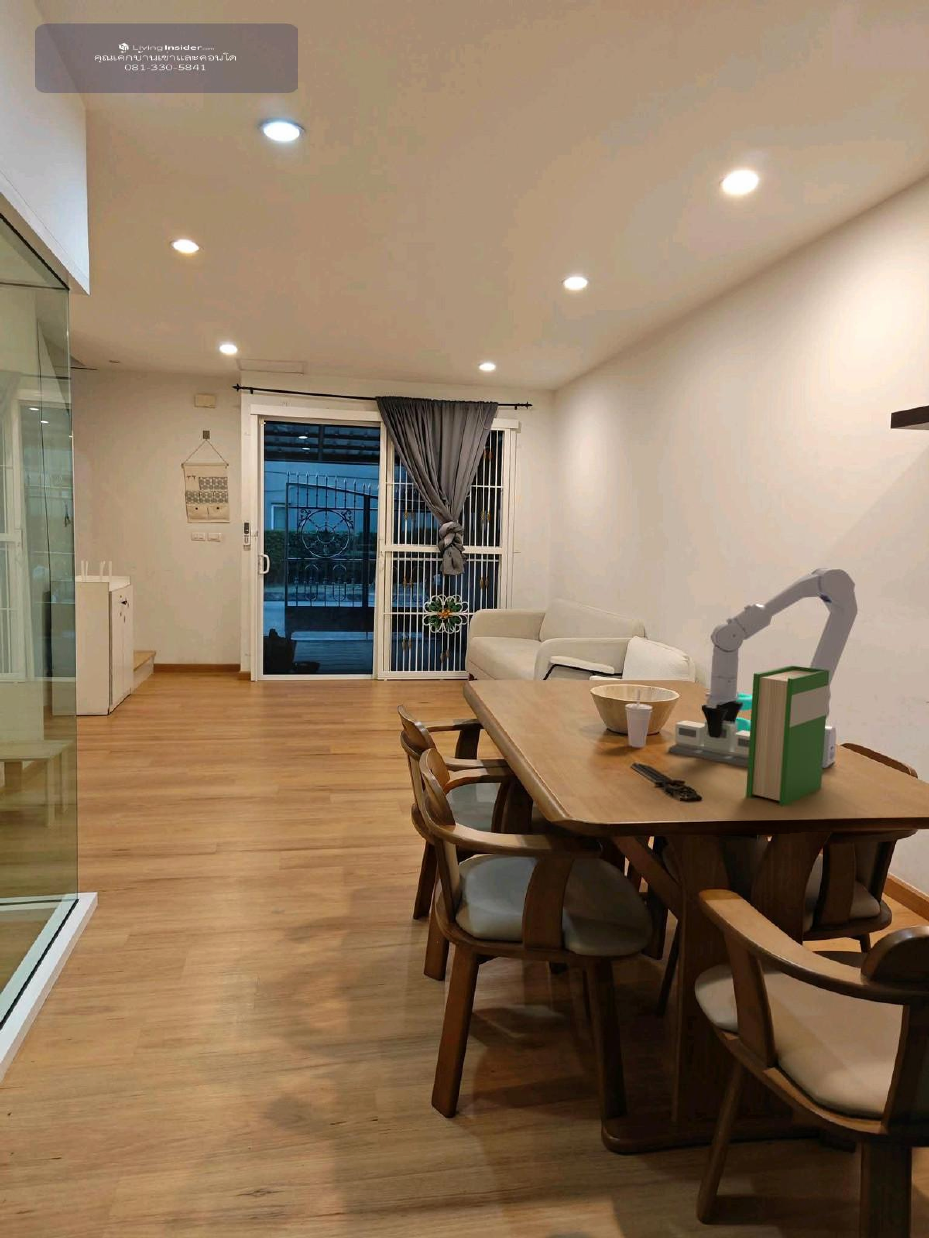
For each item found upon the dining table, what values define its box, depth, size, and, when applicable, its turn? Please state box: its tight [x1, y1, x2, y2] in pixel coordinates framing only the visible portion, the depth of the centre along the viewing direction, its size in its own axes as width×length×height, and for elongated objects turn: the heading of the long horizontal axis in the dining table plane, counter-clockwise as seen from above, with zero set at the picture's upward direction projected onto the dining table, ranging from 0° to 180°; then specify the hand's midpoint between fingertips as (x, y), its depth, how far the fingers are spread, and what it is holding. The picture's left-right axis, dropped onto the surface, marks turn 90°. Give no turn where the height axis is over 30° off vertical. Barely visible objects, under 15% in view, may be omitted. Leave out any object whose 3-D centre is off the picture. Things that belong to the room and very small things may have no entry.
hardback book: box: [745, 665, 829, 807], centre depth 149 cm, size 18×7×24 cm, turn 134°
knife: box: [630, 762, 703, 803], centre depth 155 cm, size 25×6×1 cm, turn 8°
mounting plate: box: [668, 719, 750, 768], centre depth 176 cm, size 20×11×6 cm, turn 50°
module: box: [703, 720, 738, 752], centre depth 176 cm, size 6×5×6 cm
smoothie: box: [624, 687, 653, 748], centre depth 182 cm, size 6×6×14 cm
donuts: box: [735, 692, 752, 732], centre depth 200 cm, size 10×10×10 cm
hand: (720, 734), depth 176 cm, fingers open, 7 cm apart
